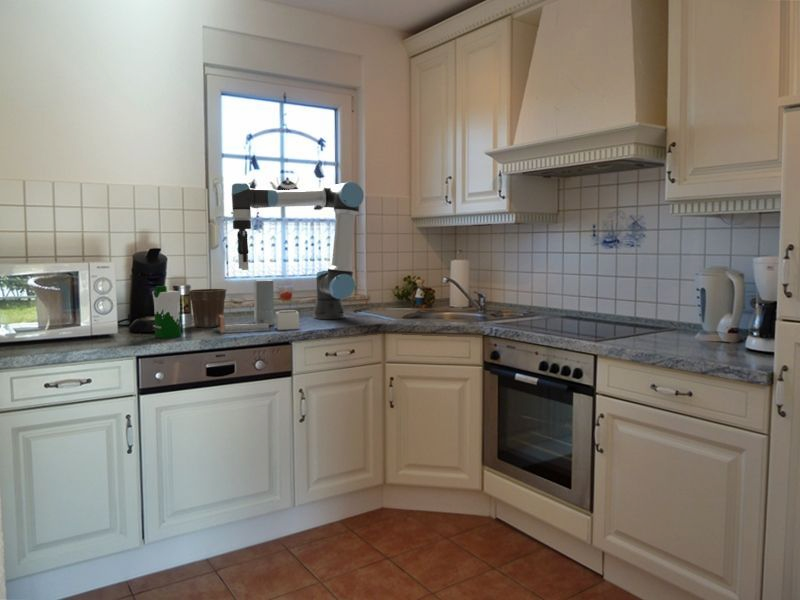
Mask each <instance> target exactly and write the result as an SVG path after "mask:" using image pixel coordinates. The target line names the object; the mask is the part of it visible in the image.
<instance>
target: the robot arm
mask: <svg viewBox="0 0 800 600" xmlns="http://www.w3.org/2000/svg"><path fill="white" fill-rule="evenodd" d="M364 196H365V194H364V191H363V188H362V187H361V185H359V183H356V182H354V181H344V182H341V183H336V184H333V185H330V186H321V187H319V189H289V190H288V189H287V190H286V189H285V190H284V189H283V190H282V189H281V190H277V189H273V188H251V187H250V184H249V183H245V182H243V183H242V182H238V183H233V184H232V185H231V203H232V211H230V212H231V213H230V214H231V215H232V219H233V220H232V228H233V230H238V231H237V233H236V234H237V235H236V236H237V253H238V255H237V256H238V269H241V270H242V271H248V270H249V243H248V231H247V230H251V229H252V223H251V222H252V220H251V218H252V216H251V213H252V212H251V210H252V209H261V208H280V207H281V208H285V207H308V206H309V207H311V206H313V207H314V206H320V207H321V208H333V212H335V214H336V218H335V228H334V238H333V249H332V259H331V260H332V261H331V265H330V266H329V267H328V269H326V270H319V271H317V272H316V277H315V278H316V304H315V307H314V310H313V318H314V319H316V320H338V319H339V318H340V319H344V318H345V310H344V307H343V304H342V300H345V299H348V298H349V297H350V296H352V294H354V292H355V289H356V281H355V280H354V278H353V274H354V270H353V269H352V267H351V261H352V251H353V250H352V248H353V241H354V240H353V238H354V230H355V220H356V216H357V215H358V214H359V212H360V211H359V210H360V205H361V204H362V203H363V201H364V199H365V198H364ZM251 208H252V209H251Z"/></svg>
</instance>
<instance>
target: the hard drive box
mask: <svg viewBox="0 0 800 600" xmlns="http://www.w3.org/2000/svg"><path fill="white" fill-rule="evenodd" d="M274 306H275V304H274V280H273V279H268V278H267V279H253V307H254V311H253V312H254V314H253V317H254V324H259V323H269V326H274V325H275V323H274V322H275V315H274V314H275V309H274V308H275V307H274Z"/></svg>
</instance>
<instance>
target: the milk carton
mask: <svg viewBox="0 0 800 600" xmlns="http://www.w3.org/2000/svg"><path fill="white" fill-rule="evenodd" d="M167 289H168V288H167V286H165V285H159V286H157V285H156V286H155V290H153V291H152V299H153V306H154V308H153V309H154V311H153V312H154V337H155V338H158V339H163V340H165V339H175V338H181V337H182V330H181V306H180V305H181V303H180V300H181V291H179V290H167ZM180 336H181V337H180ZM174 337H175V338H174Z"/></svg>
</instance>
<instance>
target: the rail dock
mask: <svg viewBox="0 0 800 600" xmlns="http://www.w3.org/2000/svg"><path fill="white" fill-rule="evenodd" d="M217 327H218V331H219V333H220V334H222V335H223V333H226V334H240V333H241V334H242V333H257V332H260V333H261V332H271V331H272V329H270V325H269V323H259V324H256V323H242V324H226V322H225V317H223V315H222V314H219V315H218V326H217Z"/></svg>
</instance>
